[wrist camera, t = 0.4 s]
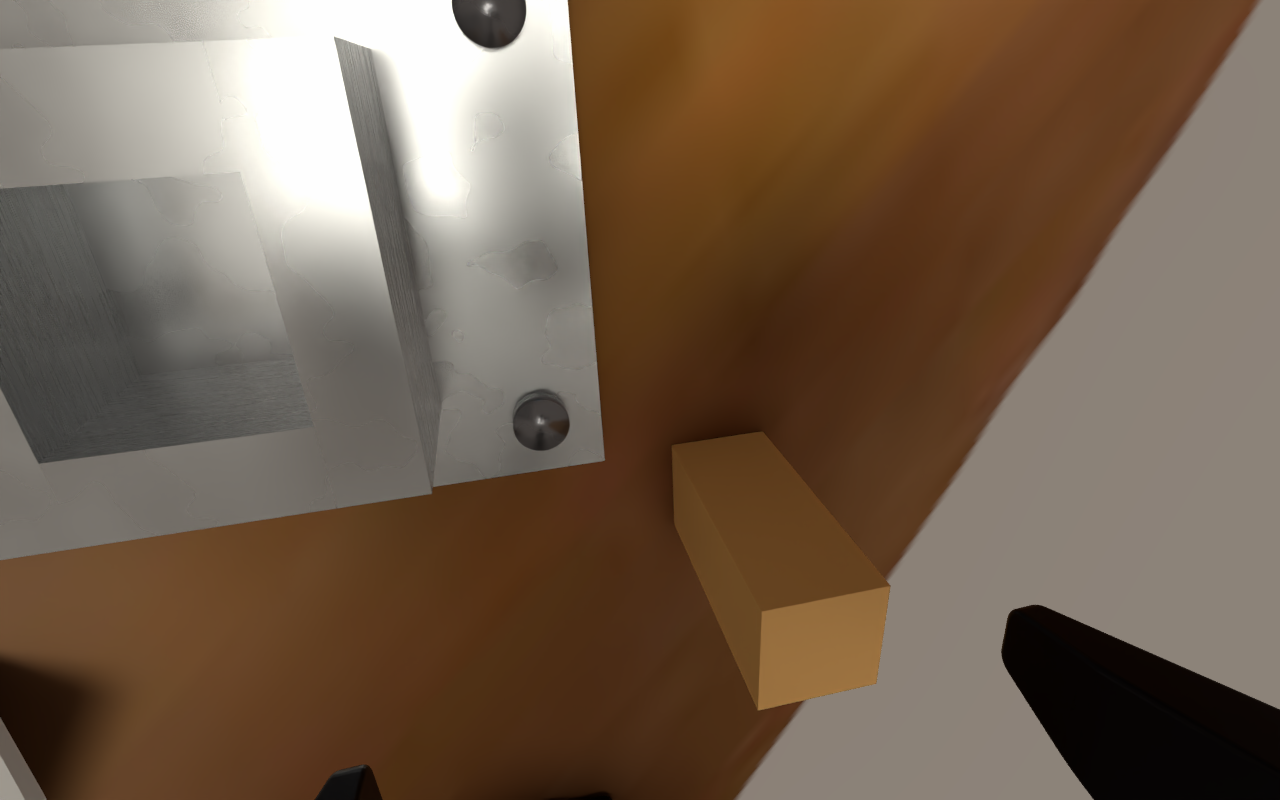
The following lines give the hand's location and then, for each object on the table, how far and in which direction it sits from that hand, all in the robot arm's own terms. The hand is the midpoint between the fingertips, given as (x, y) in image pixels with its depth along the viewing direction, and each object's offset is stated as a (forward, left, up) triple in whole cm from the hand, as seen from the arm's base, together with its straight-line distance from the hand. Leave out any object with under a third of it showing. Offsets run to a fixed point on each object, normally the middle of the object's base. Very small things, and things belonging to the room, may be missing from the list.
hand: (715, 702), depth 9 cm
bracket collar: (+4, +9, -13) cm, 16 cm away
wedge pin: (-5, -4, -13) cm, 14 cm away
